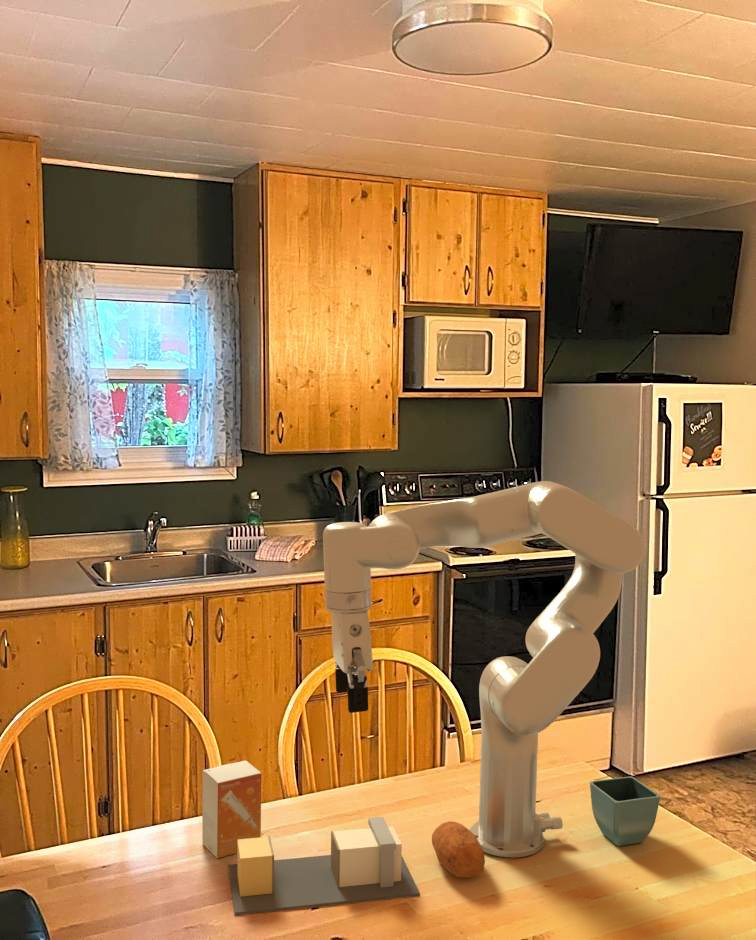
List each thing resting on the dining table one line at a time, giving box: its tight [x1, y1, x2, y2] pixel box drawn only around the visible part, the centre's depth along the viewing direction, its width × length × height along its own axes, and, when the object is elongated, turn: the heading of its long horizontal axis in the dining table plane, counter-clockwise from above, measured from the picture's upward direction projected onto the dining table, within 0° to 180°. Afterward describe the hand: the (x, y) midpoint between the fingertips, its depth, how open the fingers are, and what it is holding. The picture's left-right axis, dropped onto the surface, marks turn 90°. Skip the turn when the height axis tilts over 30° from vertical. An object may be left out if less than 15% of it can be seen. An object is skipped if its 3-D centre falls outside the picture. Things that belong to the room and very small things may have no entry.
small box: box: [201, 760, 262, 859], centre depth 161 cm, size 8×6×13 cm
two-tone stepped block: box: [330, 816, 403, 887], centre depth 152 cm, size 10×9×7 cm
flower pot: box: [589, 775, 661, 847], centre depth 165 cm, size 9×9×9 cm
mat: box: [228, 854, 421, 916], centre depth 150 cm, size 28×14×1 cm, turn 102°
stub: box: [236, 836, 275, 897], centre depth 148 cm, size 5×6×6 cm
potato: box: [431, 821, 486, 878], centre depth 155 cm, size 7×13×7 cm, turn 11°
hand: (351, 701), depth 158 cm, fingers open, 9 cm apart
